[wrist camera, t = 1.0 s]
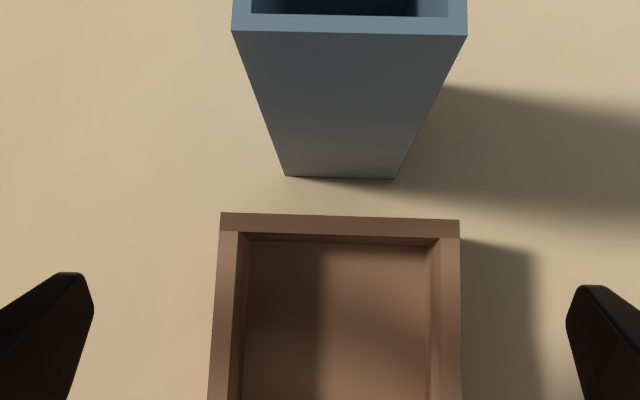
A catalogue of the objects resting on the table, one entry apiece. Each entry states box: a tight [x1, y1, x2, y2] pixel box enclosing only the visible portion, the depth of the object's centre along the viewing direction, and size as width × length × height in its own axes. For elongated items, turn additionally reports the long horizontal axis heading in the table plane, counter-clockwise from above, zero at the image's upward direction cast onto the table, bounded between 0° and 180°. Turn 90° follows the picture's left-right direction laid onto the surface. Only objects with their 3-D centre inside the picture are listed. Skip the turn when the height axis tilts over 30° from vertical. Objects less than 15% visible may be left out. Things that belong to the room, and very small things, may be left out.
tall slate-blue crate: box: [231, 0, 468, 179], centre depth 18 cm, size 5×5×13 cm
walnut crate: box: [207, 212, 462, 400], centre depth 20 cm, size 9×9×4 cm
